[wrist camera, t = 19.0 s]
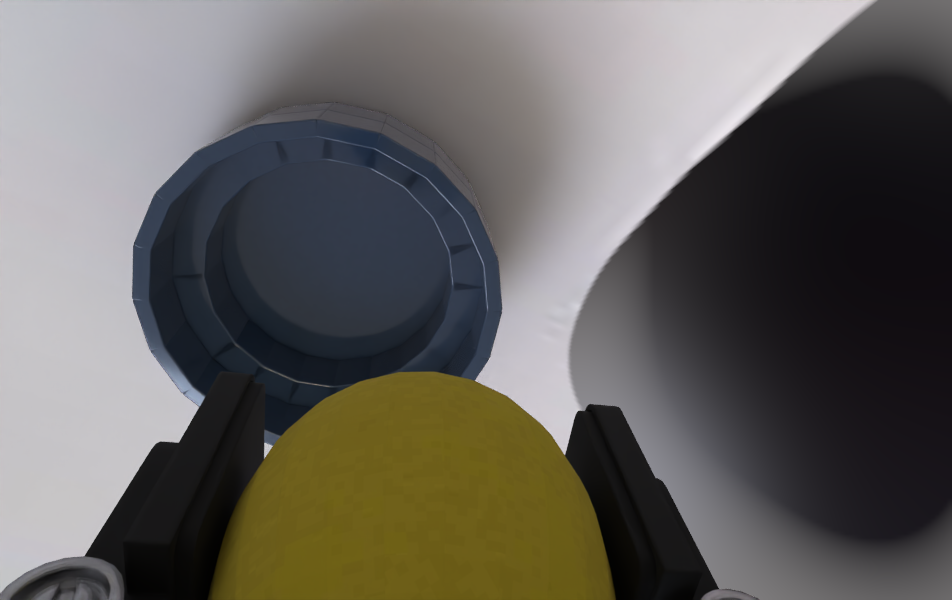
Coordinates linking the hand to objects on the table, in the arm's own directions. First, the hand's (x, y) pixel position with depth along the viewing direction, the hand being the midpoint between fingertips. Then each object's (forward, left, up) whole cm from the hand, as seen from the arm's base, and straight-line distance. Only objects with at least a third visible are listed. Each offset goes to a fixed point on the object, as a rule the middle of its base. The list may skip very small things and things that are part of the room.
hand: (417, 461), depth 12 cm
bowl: (+3, -3, -17) cm, 18 cm away
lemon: (0, 0, -2) cm, 2 cm away
